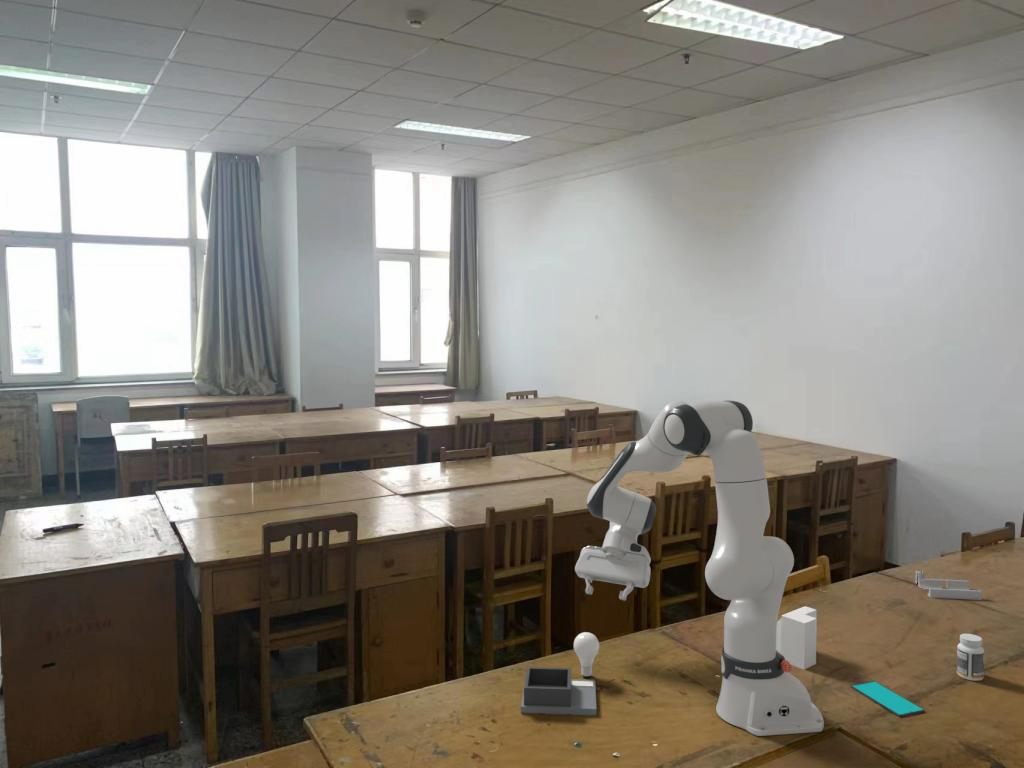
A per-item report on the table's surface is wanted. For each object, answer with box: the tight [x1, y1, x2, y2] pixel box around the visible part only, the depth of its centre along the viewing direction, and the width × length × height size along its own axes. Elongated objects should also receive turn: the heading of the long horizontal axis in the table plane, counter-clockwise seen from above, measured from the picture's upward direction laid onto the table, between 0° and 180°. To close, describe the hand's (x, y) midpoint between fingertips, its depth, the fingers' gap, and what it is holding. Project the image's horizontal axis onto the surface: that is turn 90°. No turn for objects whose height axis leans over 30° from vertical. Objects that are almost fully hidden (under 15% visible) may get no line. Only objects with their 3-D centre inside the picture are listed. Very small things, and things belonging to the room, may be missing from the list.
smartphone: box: [849, 680, 925, 718], centre depth 172 cm, size 7×1×15 cm
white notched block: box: [776, 605, 818, 670], centre depth 194 cm, size 11×11×12 cm
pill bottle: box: [956, 633, 985, 682], centre depth 182 cm, size 6×6×10 cm
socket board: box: [520, 666, 597, 716], centre depth 173 cm, size 17×14×6 cm
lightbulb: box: [573, 631, 600, 678], centre depth 185 cm, size 6×6×11 cm
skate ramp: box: [914, 569, 983, 601], centre depth 241 cm, size 15×13×5 cm
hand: (605, 596), depth 195 cm, fingers open, 8 cm apart
